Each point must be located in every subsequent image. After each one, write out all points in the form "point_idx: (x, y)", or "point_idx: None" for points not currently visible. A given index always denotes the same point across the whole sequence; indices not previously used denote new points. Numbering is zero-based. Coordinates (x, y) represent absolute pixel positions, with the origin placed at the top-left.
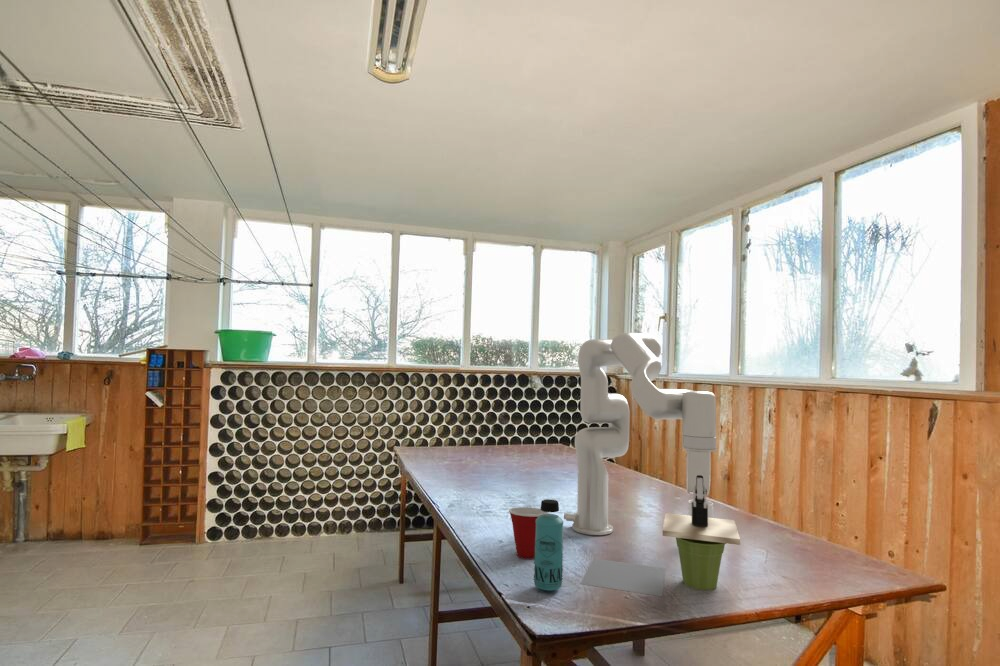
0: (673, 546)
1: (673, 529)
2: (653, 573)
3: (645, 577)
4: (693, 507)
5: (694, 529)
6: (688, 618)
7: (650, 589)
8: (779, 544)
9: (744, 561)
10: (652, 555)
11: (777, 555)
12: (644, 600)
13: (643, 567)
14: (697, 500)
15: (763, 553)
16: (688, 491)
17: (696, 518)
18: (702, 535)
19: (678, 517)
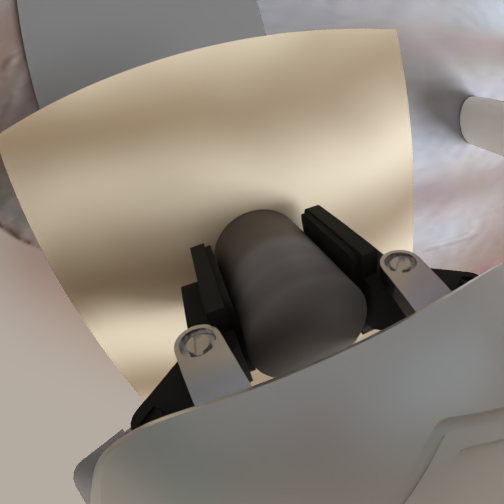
0: (443, 60)
1: (50, 173)
2: (201, 38)
3: (151, 32)
4: (207, 317)
5: (143, 263)
6: (4, 226)
7: (69, 84)
8: (495, 244)
9: (421, 217)
10: (363, 11)
11: (458, 256)
12: (14, 104)
13: (235, 1)
14: (104, 444)
15: (462, 235)
16: (96, 464)
17: (183, 294)
18: (84, 320)
19: (350, 105)
